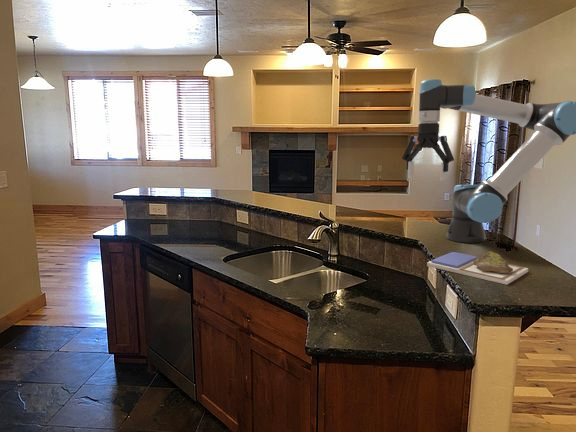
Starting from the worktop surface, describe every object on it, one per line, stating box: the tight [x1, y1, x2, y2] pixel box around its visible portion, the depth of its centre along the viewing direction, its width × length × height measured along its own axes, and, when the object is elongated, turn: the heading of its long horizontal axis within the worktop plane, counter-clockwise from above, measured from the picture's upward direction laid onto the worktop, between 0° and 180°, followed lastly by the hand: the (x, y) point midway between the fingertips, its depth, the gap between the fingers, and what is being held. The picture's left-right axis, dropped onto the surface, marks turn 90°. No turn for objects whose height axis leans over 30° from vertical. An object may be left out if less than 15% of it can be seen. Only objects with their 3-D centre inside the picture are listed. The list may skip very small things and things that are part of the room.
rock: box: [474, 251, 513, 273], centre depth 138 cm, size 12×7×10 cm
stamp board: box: [426, 251, 529, 286], centre depth 143 cm, size 17×26×2 cm, turn 43°
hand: (426, 179), depth 166 cm, fingers open, 13 cm apart
